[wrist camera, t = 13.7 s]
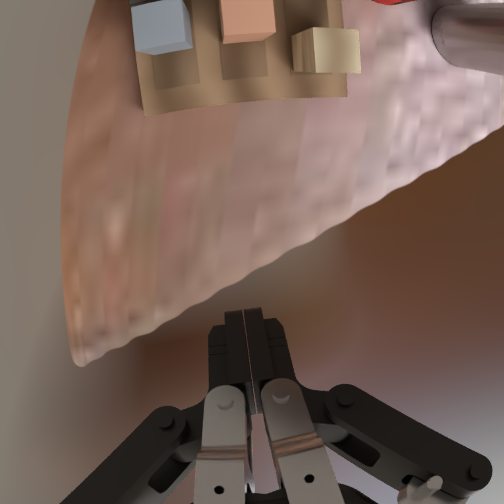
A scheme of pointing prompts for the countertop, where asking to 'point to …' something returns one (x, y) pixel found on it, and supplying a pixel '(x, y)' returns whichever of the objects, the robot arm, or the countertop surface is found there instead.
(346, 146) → the countertop surface
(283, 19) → the wooden board with bar
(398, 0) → the canned food
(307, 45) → the maple key
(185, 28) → the slate key
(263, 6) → the salmon orange block
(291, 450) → the robot arm
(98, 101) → the countertop surface
